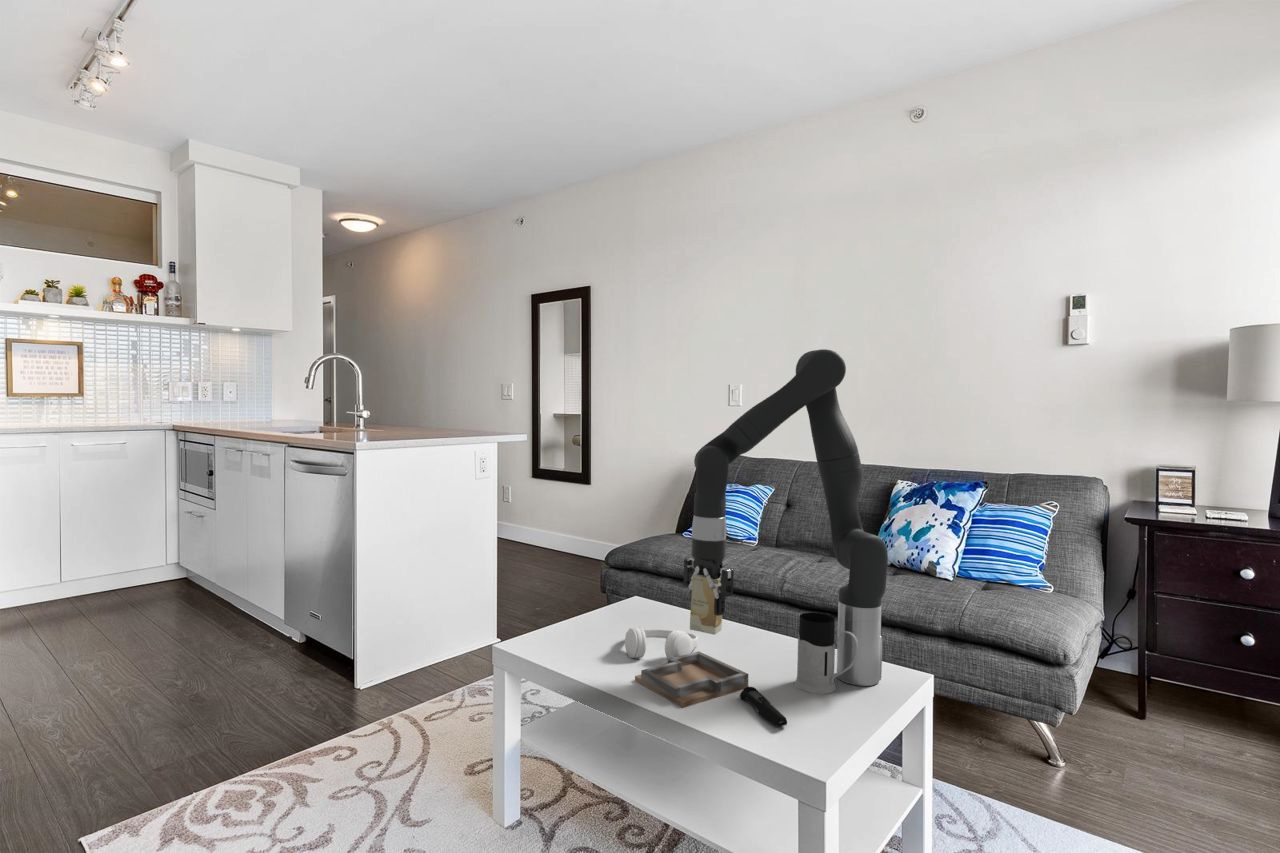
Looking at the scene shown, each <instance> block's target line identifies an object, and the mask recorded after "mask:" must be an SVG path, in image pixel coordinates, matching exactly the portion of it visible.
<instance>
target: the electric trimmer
mask: <svg viewBox="0 0 1280 853" xmlns="http://www.w3.org/2000/svg"><path fill="white" fill-rule="evenodd" d="M739 697H740V700H741V701H743V700H744V701H746V702H747V703H749V704H750V705H751V706H752V707H753V708H754V709H755V710H756V711H757V714H758V716H760V717H761V718H763V719H764V720H766V722H768V723H770V724H772V725H773V726H775V727H783V726H787V725H788V720H787V718H786V716H784V715H783V713H781V711H779V710H778V709H777V708H776V707H775V706H774V705H773V704H771V702H770V701H769V700H768V698H766V697H765V696H764V695H763V694H762V693H761V692H760V691H759V690H758V689H757V688H755V687H754V686H748V687H746V688H745V689H742V690H741V692H740V694H739Z"/></svg>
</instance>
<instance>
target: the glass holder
mask: <svg viewBox="0 0 1280 853" xmlns="http://www.w3.org/2000/svg"><path fill="white" fill-rule="evenodd" d="M798 622H799V623H798V624H799V625H798V628H797V629H798V631H797V633H798V634H797V666H796V667H797V669H796V670H797V671H796V679H795V681H794V686H795V687H796V688H798V689H800V690H801V691H804V692H807V693H810V694H811V693H812V694H818V695H820V694H822V695H823V694H824V695H825V694H830V693H833V692H835V691H836V689H837V686H836V683H835V678H838V677H837V676H838V675H840V674H842V673H844V672H845V671H847V670H848V669H849V668H851V667H852V665H853V663H854V661H855V659H856V657H857V653H858V641H857V638H856V637H855V635H854V634H852V633H851V632H848V631H845V632H842V633H841V634H840V635H839V637H838V636H837V640H838V645H837V646H836V641H835V626H836V625H835V624H836V620H835V617H834V616H832V615H829V614H826V613H823V612H822V613H821V612H803V613H801V614H799V620H798ZM845 633H847V634H849V635H851V636H852V637H853V638H854V641H855V654H854V658H853V660H852V662H851V663H850V665H849V666H848V667H847V668H846V669H844V670H843V671H841V672H840V673H838V674H837V673H836V674H835V655H836V651H835V650H837V648H839V647H840V642H841V637H842V635H843V634H845Z"/></svg>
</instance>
